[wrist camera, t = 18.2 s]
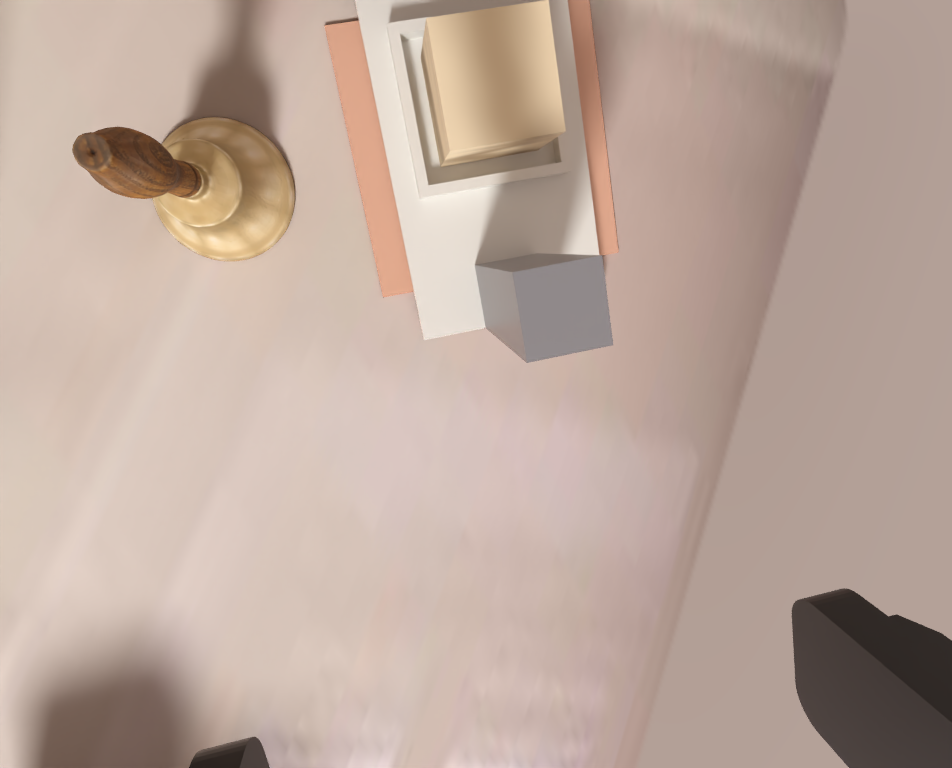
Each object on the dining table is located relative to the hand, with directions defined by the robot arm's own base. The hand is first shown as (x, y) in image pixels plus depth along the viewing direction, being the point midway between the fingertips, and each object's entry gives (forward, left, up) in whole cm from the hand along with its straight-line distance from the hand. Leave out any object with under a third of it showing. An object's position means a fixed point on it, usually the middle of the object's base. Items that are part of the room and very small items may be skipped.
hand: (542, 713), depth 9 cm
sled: (+6, +11, -32) cm, 34 cm away
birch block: (+6, +14, -30) cm, 34 cm away
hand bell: (-10, +12, -32) cm, 36 cm away
